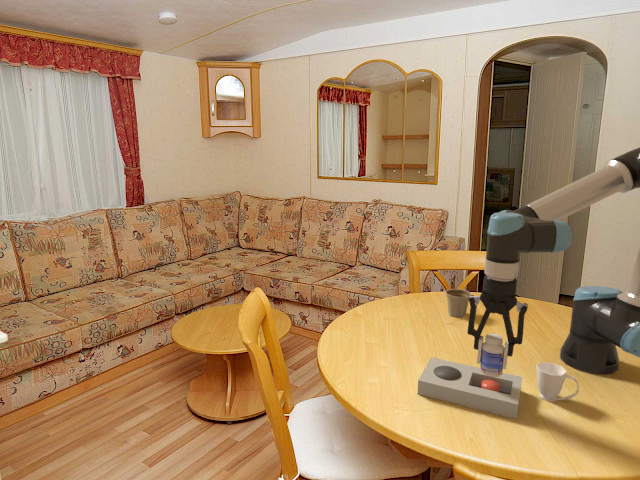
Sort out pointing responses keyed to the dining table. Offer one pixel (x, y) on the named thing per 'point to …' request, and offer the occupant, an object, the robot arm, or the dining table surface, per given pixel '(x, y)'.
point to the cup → (552, 381)
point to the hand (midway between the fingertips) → (491, 363)
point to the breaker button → (490, 385)
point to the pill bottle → (492, 356)
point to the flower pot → (457, 302)
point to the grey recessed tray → (470, 387)
